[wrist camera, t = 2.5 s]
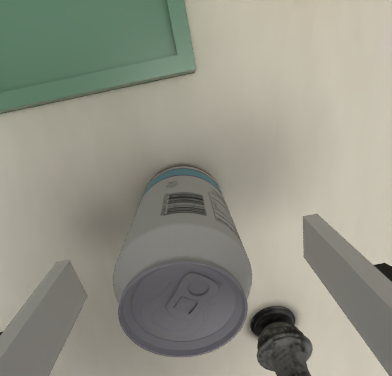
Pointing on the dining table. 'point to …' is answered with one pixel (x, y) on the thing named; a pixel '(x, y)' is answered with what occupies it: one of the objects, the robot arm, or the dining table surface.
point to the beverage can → (182, 268)
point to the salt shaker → (281, 342)
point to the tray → (88, 47)
